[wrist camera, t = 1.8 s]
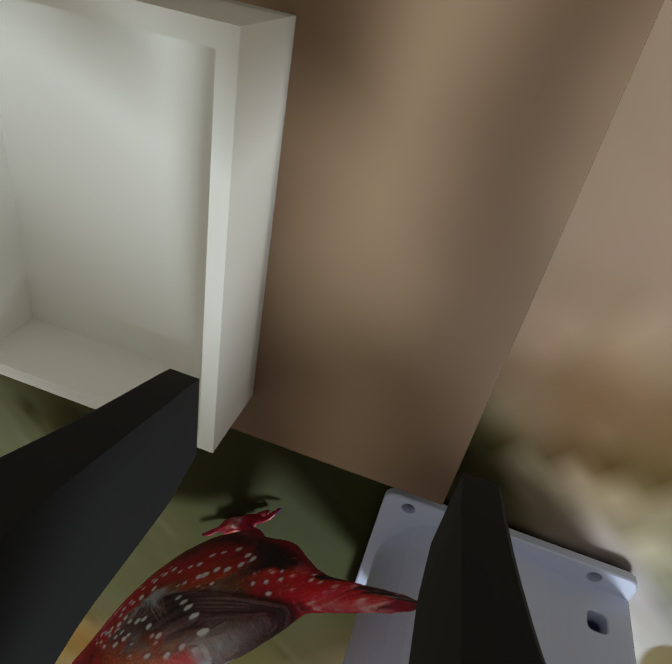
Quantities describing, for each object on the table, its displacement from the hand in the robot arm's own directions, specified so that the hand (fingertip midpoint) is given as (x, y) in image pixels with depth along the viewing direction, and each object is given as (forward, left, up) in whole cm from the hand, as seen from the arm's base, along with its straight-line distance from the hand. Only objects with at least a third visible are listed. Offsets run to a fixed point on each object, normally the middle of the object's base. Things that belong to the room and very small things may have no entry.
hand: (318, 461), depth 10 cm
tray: (+9, 0, -7) cm, 11 cm away
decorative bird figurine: (+3, +13, -9) cm, 16 cm away
